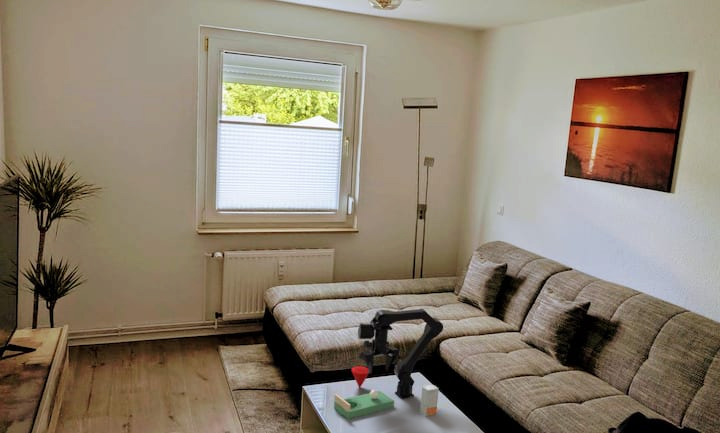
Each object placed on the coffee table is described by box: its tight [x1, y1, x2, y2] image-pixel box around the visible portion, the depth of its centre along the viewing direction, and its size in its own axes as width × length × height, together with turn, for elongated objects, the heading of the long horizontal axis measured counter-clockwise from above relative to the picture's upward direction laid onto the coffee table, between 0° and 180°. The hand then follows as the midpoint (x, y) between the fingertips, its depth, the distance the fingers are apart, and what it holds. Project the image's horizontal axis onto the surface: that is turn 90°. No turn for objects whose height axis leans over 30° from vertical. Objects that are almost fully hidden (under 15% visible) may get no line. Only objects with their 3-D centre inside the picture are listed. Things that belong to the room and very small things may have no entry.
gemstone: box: [350, 365, 370, 388], centre depth 264 cm, size 9×9×10 cm
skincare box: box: [419, 384, 440, 417], centre depth 243 cm, size 6×4×12 cm
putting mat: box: [333, 390, 395, 420], centre depth 245 cm, size 24×11×6 cm, turn 124°
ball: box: [369, 389, 379, 399], centre depth 248 cm, size 4×4×4 cm
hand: (378, 371), depth 255 cm, fingers open, 9 cm apart
